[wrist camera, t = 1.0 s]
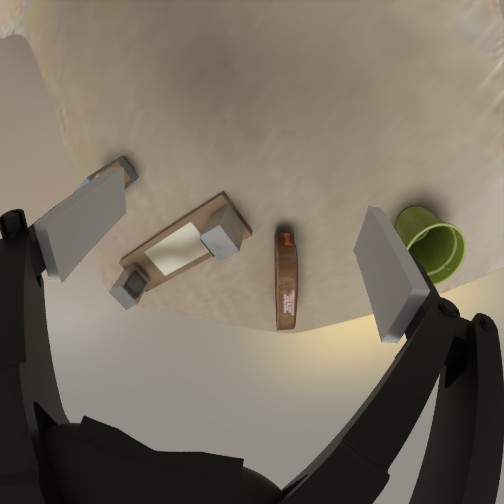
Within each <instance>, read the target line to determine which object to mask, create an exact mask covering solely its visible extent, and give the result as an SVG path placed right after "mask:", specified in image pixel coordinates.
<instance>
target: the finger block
mask: <svg viewBox="0 0 504 504" xmlns="http://www.w3.org/2000/svg"><path fill="white" fill-rule="evenodd" d="M111 167H121V168H124V184H125V189H126V188H127V187H128V186H129V185H130V184H132V183H133V182H134V181H135V180H136V179H137V178H139V177H138V175H137V174H136V173H135V172H134V170H133V169H132V168H131V166H130V165H129V164H128V162H127V161H126V160H125V158H124V157H123V156H122V157H120V158H118V159H116V160H115V161H113V162H111V163H110V164H108V165H106V166H105V167H103V168H101V169H100V170H98V171H97V172H95V173H93V174H92V175H90V176H89V177H87V178H86V179H85V180H84V181H83V182H82V184H81V185H80V186H79V187H78V188H77V189H76V190H75V192H76V191H77V190H78V189H80V188H81V187H83V186H84V185H86V184H87V183H88V182H90V181H91V180H93V179H94V178H96V177H97V176H99V175H100V174H102V173H104V172H105V171H107V170H108V169H110V168H111Z"/></svg>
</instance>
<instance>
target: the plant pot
mask: <svg viewBox="0 0 504 504" xmlns="http://www.w3.org/2000/svg"><path fill="white" fill-rule="evenodd" d="M395 230H396V232H397V233H398V235H399V237H400V238H401V240H402V242H403V243H404V245H405V247H406V248H407V250H408V252H409V253H410V255H411V257H412V258H415V259H416V260H417V261H418V262H419V263H420V264H421V265H422V266H423V267H424V269H425V270H426V272H427V275H428V276H429V277H430V279H431V280H430V281H432V283H433V285H434V286H436V285H439V284H441V283H443V282H445V281H447V280H448V279H449V278H451V277H452V276H453V275H454V274H455V273H456V272H457V270H458V269H459V267H460V266H461V264H462V262H463V260H464V257H465V253H466V240H465V237H464V235H463V233H462V232H461V230H460V229H459V228H457V227H456V226H454V225H452V224H449V223H445V222H442V221H441V220H440V219H438V218H437V217H436V216H435V215H433V214H432V213H431V212H429V211H428V210H426V209H425V208H423V207H421V206H416V207H409V208H407V209H405V210H404V211H403V212H402V213H401V214H400V215H399V217H398V218H397V221H396V227H395ZM424 232H425V233H424ZM422 233H424V234H423V235H422V236H421V237H419V236H420V235H421V234H422Z"/></svg>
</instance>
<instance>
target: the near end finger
mask: <svg viewBox="0 0 504 504" xmlns="http://www.w3.org/2000/svg"><path fill="white" fill-rule="evenodd" d="M244 231H245V226H244V224H243V223H242V222H241V220H240V219H239V218H238V216H237V215H236V214H235V212H234V211H233V209H232V208H231V207H230V205H229V204H227V205H226V206H224V207H222V208H221V209H219V210H217V211H216V212H214V213H212V214H211V215H210V216H209V218H208V220H207V222H206V224H205V226H204V228H203V230H202V232H201V234H200V236H199V237H200V238H201V239H200V241H201V242H202V243H203V244H204V246H205V247H206V248H207V249H208V250H209V252H210V253H211V254H212V255H213V257H214V256H215V257H216V258H217V259H218V261H221V260H223V259H225V258H227V257H229V256H231V255H233V254H235V253H237V252H239V251H240V247H241V243H242V239H243V235H244Z"/></svg>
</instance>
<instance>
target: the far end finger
mask: <svg viewBox="0 0 504 504" xmlns="http://www.w3.org/2000/svg"><path fill="white" fill-rule="evenodd" d="M150 281H151V279H150V278H149V277H148V276H147V275H146V274H145V273H144V271H143V270H142V269H141V268H140V267H139V266H138V265H137V264H136V263H133V264H132V265H130V266H129V267H127V268H126V269H125V270H124V271H123V272H122V274H121V275H120V277H119V278H118V280H117V281H116V282H115V284H114V285H113V287H112V288H111V290H110V291H109V293H110V294H111V295H112V296H113V297H114V298H115V299H116V300H117V301H118V302H119V303H120V304H121V305H122V306H123V307H124V308H125V309H126V310H127V309H128V308H130V307H132V306H134V305H136V304H138V302H139V300H140V298H141V297H142V295H143V293H144V291H145V289H146V288H147V286H148V284H149V282H150Z"/></svg>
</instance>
